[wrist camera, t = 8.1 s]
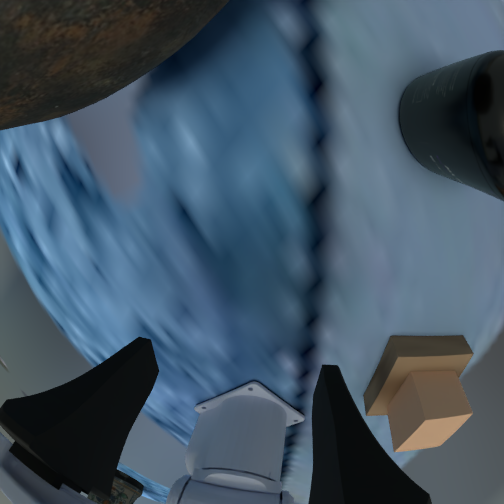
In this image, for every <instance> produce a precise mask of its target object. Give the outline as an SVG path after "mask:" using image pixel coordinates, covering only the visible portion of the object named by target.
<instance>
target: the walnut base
mask: <svg viewBox="0 0 504 504" xmlns="http://www.w3.org/2000/svg"><path fill="white" fill-rule="evenodd" d="M473 354H474V353H473V352H472V350H471V348H470V346H469V345H468V343H467V341H466V340H465V338H464V336H463V335H460V336H390V339H389V341H388V344H387V346H386V348H385V351H384V353H383V355H382V358H381V360H380V362H379V364H378V367H377V369H376V371H375V373H374V375H373V377H372V379H371V381H370V383H369V385H368V387H367V389H366V391H365V393H364V395H363V396H364V404H365V411H366V416H374V415H388V413H387V408H386V407H387V406H388V404H389V403H390V401H391V400H392V399H393V397H394V396H395V394H396V393H397V392H398V390H399V389H400V387H401V386H402V384H403V383H404V381H405V380H406V378H407V377H408V375H409V373H410V372H411V371H455V372H456V374H457V376H458V378H459V377H460V375H461V373H462V372H463V370H464V369H465V367H466V366H467V364H468V362H469V361H470V359H471V357H472V356H473Z"/></svg>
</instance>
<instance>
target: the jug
mask: <svg viewBox="0 0 504 504" xmlns="http://www.w3.org/2000/svg"><path fill="white" fill-rule="evenodd" d="M228 2H229V0H0V130H5V129H9V128H14V127H18V126H23V125H28V124H33V123H38V122H43V121H47V120H51V119H55V118H58V117H62V116H64V115H67V114H70V113H73V112H75V111H78V110H80V109H82V108H85V107H87V106H89V105H91V104H94V103H96V102H98V101H100V100H102V99H104V98H107V97H108V96H110V95H111V94H113V93H115V92H117V91H118V90H120V89H122V88H124V87H125V86H127V85H129V84H131V83H132V82H134V81H135V80H137V79H138V78H140V77H141V76H143V75H145V74H146V73H147V72H149V71H150V70H152V69H154V68H155V67H157V66H158V65H159V64H161V63H162V62H163V61H165V60H166V59H167V58H169V57H170V56H172V55H173V54H174V53H175V52H177V51H178V50H179V49H180V48H181V47H183V46H184V45H185V44H186V43H187V42H189V41H190V40H191V39H192V38H194V37H195V36H196V35H197V34H198V32H199V31H200V30H201V29H202V28H203V27H204V26H205V25H206V24H207V23H208V22H209V21H210V20H211V19H212V18H213V17H214V16H215V15H216V14H217V13H218V12H219V11H220V10H221V9H222V8H223V7H224V6H225V5H226V4H227V3H228Z"/></svg>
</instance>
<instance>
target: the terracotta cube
mask: <svg viewBox="0 0 504 504" xmlns="http://www.w3.org/2000/svg"><path fill="white" fill-rule="evenodd" d="M386 408H387V413H388V419H389V424H390V430H391V436H392V443H393V449H394V452H401V451H409V450H417V449H424V448H430V447H436V446H440V445H441V444H443V442H445V441H446V440H447V439H448V438H449V437H450V436H451V435H452V434H453V433H454V432H455V431H456V430H457V429H458V428H459V427H460V426H461V425H462V424H463V423H464V422H465V421H466V420H467V419H468V418H469V417H470V416H471V415H472V414H473V412H472V410H471V407H470V405H469V402H468V400H467V397H466V395H465V392H464V390H463V388H462V385H461V383H460V381H459V378H458V376H457V374H456V372H455V371H411V372H410V373H409V375H408V377H407V378H406V380H405V381H404V383H403V384H402V386H401V387H400V389H399V390H398V392H397V393H396V394H395V396H394V397H393V399H392V400H391V401H390V403H389V404H388V406H387V407H386Z"/></svg>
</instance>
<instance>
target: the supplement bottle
mask: <svg viewBox="0 0 504 504" xmlns="http://www.w3.org/2000/svg"><path fill="white" fill-rule="evenodd" d="M400 123H401V129H402V133H403V136H404V139H405V141H406V143H407V145H408V147H409V149H410V151H411V152H412V154H413V155H414V156H415V158H416V159H417V160H418V161H419V162H420V163H421V164H422V165H423V166H425V167H426V168H427V169H429V170H430V171H432V172H434V173H436V174H439V175H442V176H444V177H447V178H449V179H452V180H455V181H457V182H460V183H462V184H465V185H467V186H470V187H472V188H475V189H477V190H479V191H482V192H484V193H486V194H489V195H491V196H493V197H495V198H497V199H500V200H502V201H504V50H497V51H491V52H487V53H484V54H481V55H478V56H474V57H471V58H468V59H465V60H462V61H459V62H456V63H453V64H451V65H448V66H445V67H442V68H440V69H437V70H434V71H432V72H429V73H427V74H424V75H422V76H420V77H418V78H417V79H415V80H414V81H413V82H412V83H411V84H410V85H409V86H408V87H407V89H406V91H405V93H404V95H403V98H402V101H401V106H400Z"/></svg>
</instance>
